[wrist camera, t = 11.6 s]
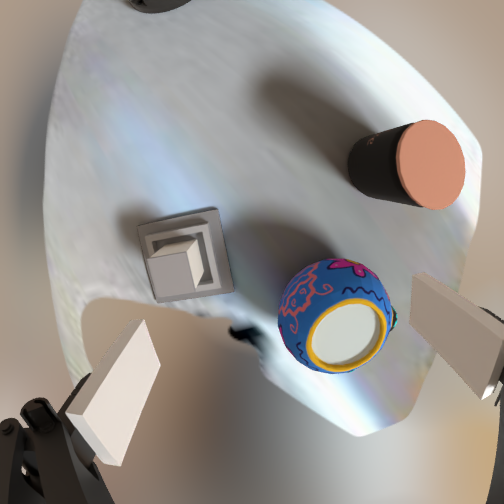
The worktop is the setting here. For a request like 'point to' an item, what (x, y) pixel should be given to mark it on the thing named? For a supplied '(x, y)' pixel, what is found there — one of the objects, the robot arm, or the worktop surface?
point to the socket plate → (210, 248)
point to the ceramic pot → (335, 316)
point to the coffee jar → (410, 165)
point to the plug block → (176, 268)
